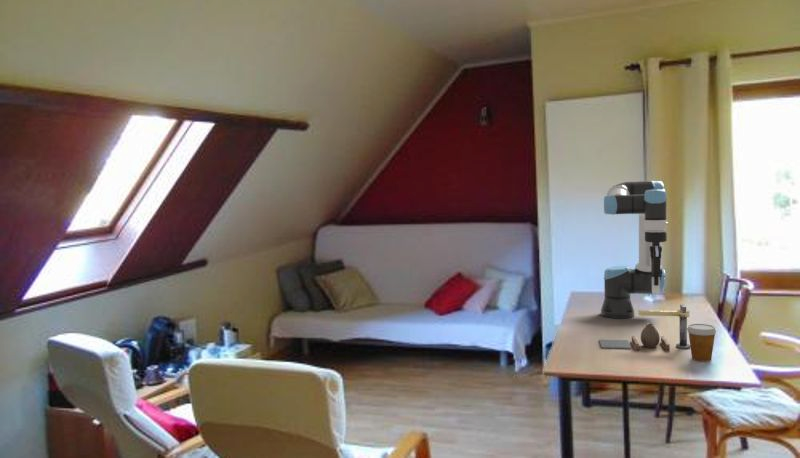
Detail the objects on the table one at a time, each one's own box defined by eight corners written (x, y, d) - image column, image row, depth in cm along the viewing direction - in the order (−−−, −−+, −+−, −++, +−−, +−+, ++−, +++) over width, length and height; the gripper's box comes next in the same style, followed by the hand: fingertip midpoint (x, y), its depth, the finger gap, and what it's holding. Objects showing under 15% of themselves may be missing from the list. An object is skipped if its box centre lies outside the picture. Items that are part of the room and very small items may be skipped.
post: (674, 345, 239) (674, 314, 238) (688, 345, 238) (688, 314, 237) (677, 348, 234) (677, 317, 233) (691, 349, 233) (691, 317, 232)
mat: (599, 340, 249) (599, 339, 249) (627, 341, 247) (627, 340, 247) (601, 348, 238) (601, 347, 238) (631, 349, 236) (631, 347, 236)
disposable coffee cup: (707, 354, 226) (707, 322, 225) (721, 362, 216) (721, 329, 215) (682, 355, 225) (682, 324, 224) (695, 363, 216) (695, 330, 215)
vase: (648, 349, 234) (648, 327, 234) (636, 345, 241) (636, 323, 240) (663, 347, 236) (663, 325, 236) (651, 343, 243) (651, 321, 242)
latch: (638, 313, 241) (638, 303, 241) (687, 314, 237) (687, 304, 236) (640, 316, 236) (640, 306, 236) (690, 317, 232) (690, 307, 232)
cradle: (631, 341, 246) (631, 335, 246) (663, 342, 243) (663, 336, 243) (636, 350, 234) (636, 344, 234) (669, 351, 231) (669, 344, 231)
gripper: (668, 232, 220) (668, 297, 222) (664, 229, 233) (664, 290, 234) (646, 232, 223) (646, 296, 224) (643, 229, 235) (643, 290, 237)
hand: (655, 293), depth 229 cm, fingers closed
